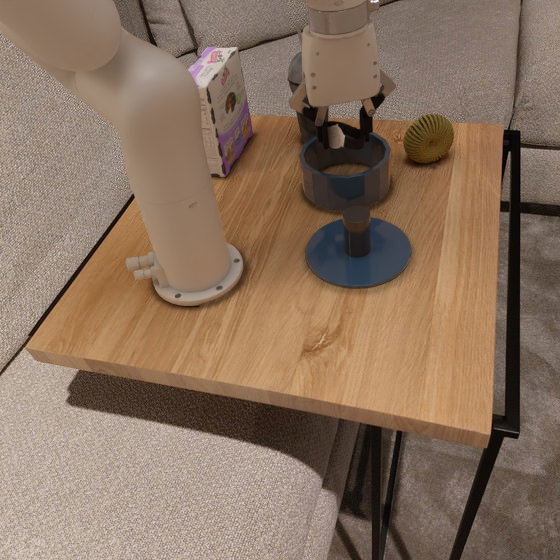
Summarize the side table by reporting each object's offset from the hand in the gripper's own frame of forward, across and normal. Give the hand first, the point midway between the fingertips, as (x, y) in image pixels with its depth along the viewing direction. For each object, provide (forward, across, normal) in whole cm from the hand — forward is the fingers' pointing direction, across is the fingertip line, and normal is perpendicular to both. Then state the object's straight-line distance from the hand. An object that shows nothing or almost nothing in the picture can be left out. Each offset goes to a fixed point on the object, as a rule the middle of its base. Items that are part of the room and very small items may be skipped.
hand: (344, 140), depth 86 cm
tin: (+8, 0, 0) cm, 8 cm away
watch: (+1, 0, 0) cm, 1 cm away
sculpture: (+9, -14, -3) cm, 17 cm away
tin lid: (+8, +2, +16) cm, 18 cm away
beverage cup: (+9, +2, -16) cm, 18 cm away
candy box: (+8, +18, -16) cm, 26 cm away
